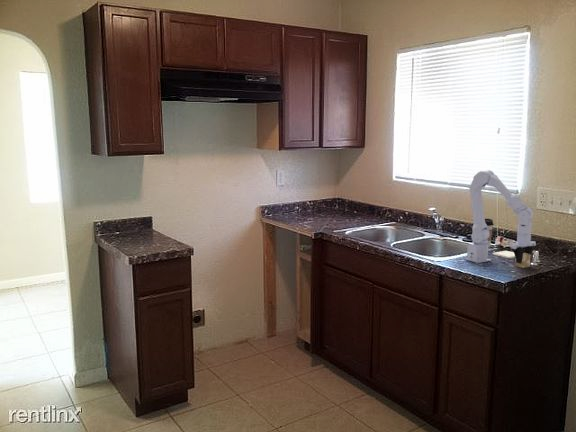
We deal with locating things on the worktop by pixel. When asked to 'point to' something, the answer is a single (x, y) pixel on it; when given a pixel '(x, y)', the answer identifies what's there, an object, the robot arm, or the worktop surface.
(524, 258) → the maple block
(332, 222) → the worktop surface
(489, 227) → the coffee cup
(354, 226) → the worktop surface
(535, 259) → the grey white arch
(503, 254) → the cream pad
